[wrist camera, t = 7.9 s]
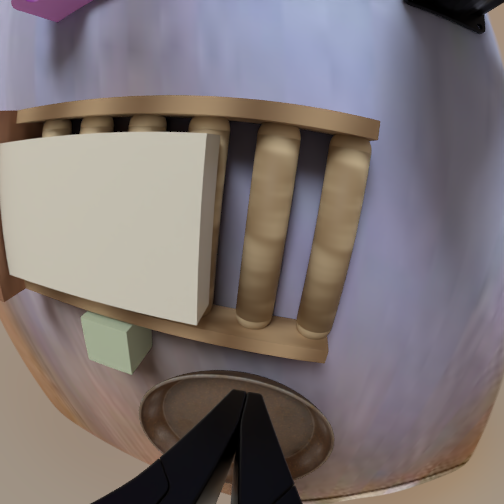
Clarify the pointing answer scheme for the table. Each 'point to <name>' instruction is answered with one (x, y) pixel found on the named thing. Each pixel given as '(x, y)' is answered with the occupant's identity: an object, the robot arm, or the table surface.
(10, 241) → the slab
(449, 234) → the table surface
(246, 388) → the plant saucer
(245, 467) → the robot arm
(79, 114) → the roller track
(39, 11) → the bracket
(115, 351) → the block
